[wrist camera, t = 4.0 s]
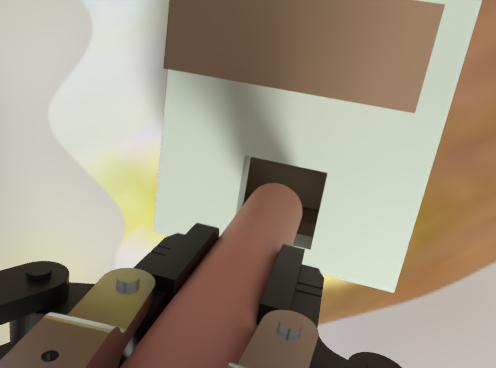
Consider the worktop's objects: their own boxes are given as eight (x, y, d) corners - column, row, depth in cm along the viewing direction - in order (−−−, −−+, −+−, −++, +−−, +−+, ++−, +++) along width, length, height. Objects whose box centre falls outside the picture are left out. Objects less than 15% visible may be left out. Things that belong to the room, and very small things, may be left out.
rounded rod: (251, 177, 18) (84, 373, 7) (307, 189, 18) (224, 418, 6) (244, 228, 19) (82, 478, 8) (297, 241, 18) (207, 525, 7)
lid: (194, -69, 19) (118, -134, 12) (483, -36, 16) (560, -94, 10) (165, 221, 23) (97, 278, 17) (391, 277, 21) (407, 366, 15)
